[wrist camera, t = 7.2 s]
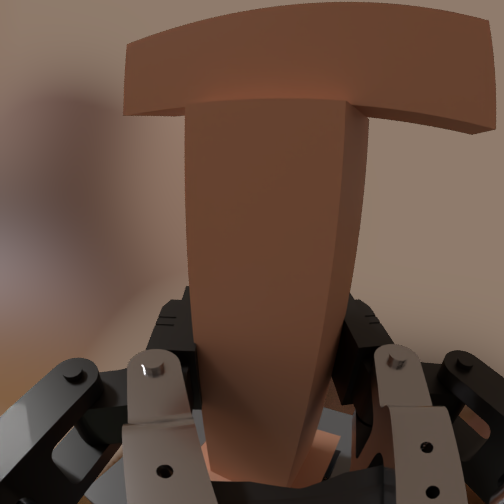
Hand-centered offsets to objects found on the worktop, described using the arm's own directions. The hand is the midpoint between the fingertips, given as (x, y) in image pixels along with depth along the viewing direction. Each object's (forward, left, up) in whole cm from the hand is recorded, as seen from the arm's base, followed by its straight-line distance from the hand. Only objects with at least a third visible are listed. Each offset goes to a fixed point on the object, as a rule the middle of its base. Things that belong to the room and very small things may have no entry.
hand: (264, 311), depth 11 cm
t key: (-1, +2, -8) cm, 9 cm away
